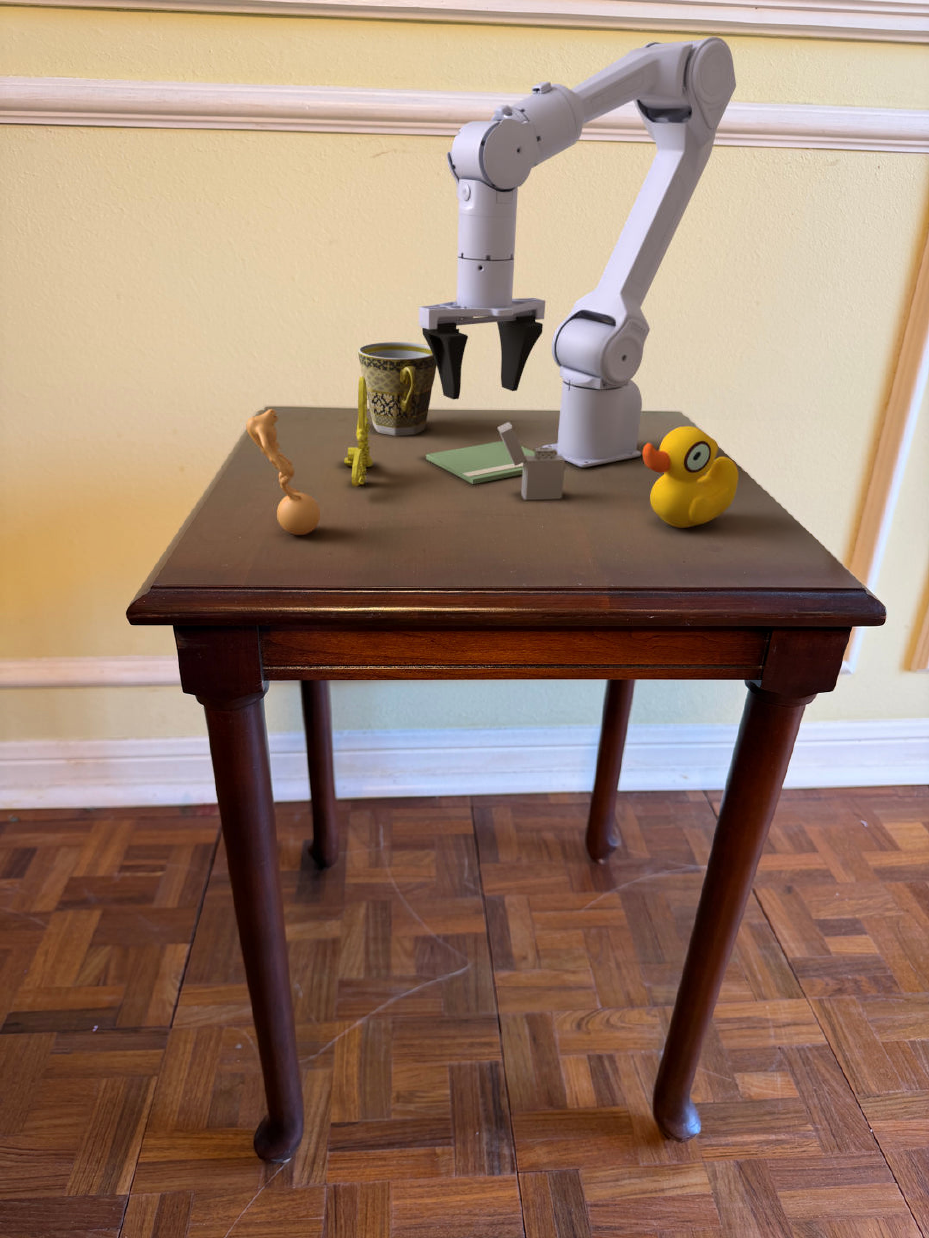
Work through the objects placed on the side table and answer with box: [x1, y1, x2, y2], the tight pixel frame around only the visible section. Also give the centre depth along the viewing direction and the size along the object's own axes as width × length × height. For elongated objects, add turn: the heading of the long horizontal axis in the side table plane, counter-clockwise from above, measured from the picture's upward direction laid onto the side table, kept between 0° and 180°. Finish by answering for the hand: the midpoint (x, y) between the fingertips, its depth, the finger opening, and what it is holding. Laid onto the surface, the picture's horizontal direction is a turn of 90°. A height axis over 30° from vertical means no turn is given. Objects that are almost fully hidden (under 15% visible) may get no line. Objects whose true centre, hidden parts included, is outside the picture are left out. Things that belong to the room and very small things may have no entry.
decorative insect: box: [343, 376, 374, 487], centre depth 97 cm, size 13×3×10 cm
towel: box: [425, 440, 535, 485], centre depth 103 cm, size 12×10×1 cm
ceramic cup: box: [357, 341, 437, 437], centre depth 111 cm, size 13×10×10 cm
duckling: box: [642, 425, 739, 529], centre depth 86 cm, size 11×5×10 cm, turn 115°
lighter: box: [496, 421, 566, 501], centre depth 92 cm, size 7×2×8 cm, turn 99°
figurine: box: [245, 408, 321, 536], centre depth 80 cm, size 8×6×12 cm
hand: (480, 393), depth 95 cm, fingers open, 7 cm apart
